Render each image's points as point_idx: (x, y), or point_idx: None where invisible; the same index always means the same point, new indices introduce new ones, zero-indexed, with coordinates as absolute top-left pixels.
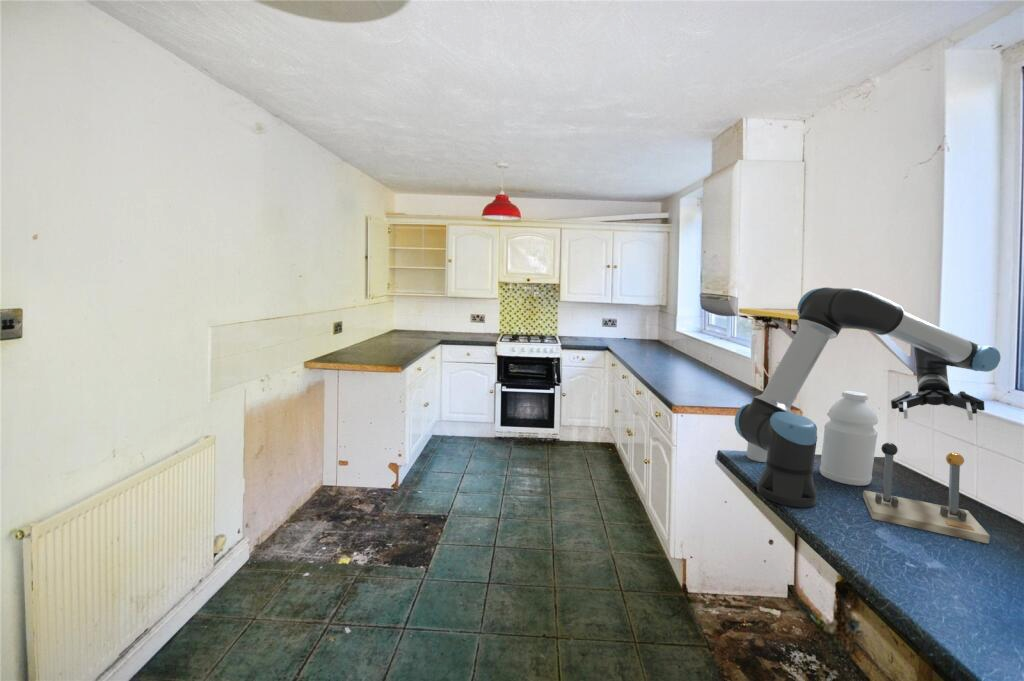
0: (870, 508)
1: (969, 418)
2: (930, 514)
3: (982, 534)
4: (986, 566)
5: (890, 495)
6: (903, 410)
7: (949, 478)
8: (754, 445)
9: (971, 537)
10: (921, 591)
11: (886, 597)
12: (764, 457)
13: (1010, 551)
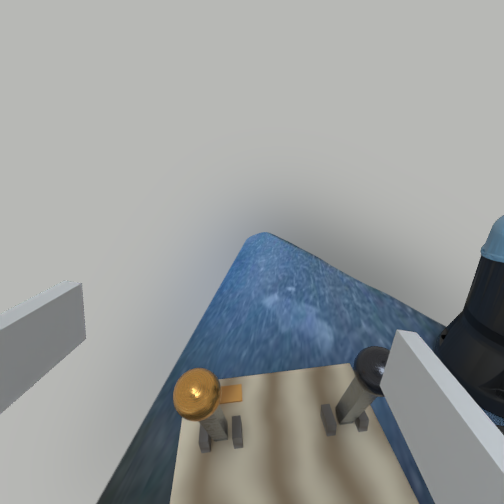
0: None
1: (83, 327)
2: (262, 422)
3: None
4: (221, 323)
5: (337, 405)
6: (413, 337)
7: (217, 419)
8: None
9: None
10: (283, 263)
11: (302, 249)
12: None
13: (169, 385)
